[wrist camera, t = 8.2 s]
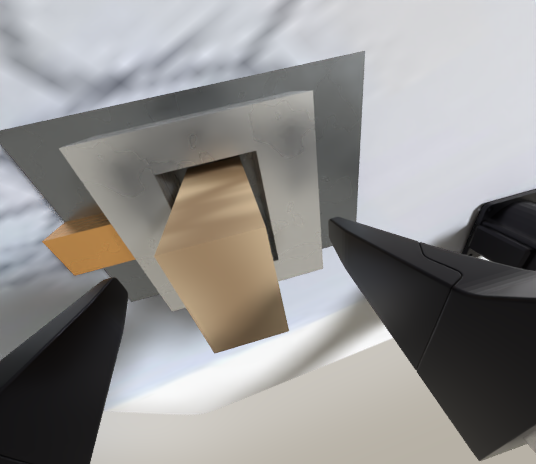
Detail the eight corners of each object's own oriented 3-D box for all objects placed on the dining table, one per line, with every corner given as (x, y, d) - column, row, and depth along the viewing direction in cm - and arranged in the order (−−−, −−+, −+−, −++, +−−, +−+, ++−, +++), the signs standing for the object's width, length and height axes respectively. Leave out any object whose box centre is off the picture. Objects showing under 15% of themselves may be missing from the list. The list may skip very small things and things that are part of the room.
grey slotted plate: (354, 53, 12) (408, 38, 9) (349, 233, 19) (377, 263, 15) (8, 129, 11) (-85, 145, 7) (135, 291, 17) (116, 338, 14)
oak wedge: (239, 156, 13) (265, 226, 6) (257, 228, 15) (288, 331, 9) (187, 168, 12) (153, 256, 6) (215, 239, 15) (214, 353, 8)
